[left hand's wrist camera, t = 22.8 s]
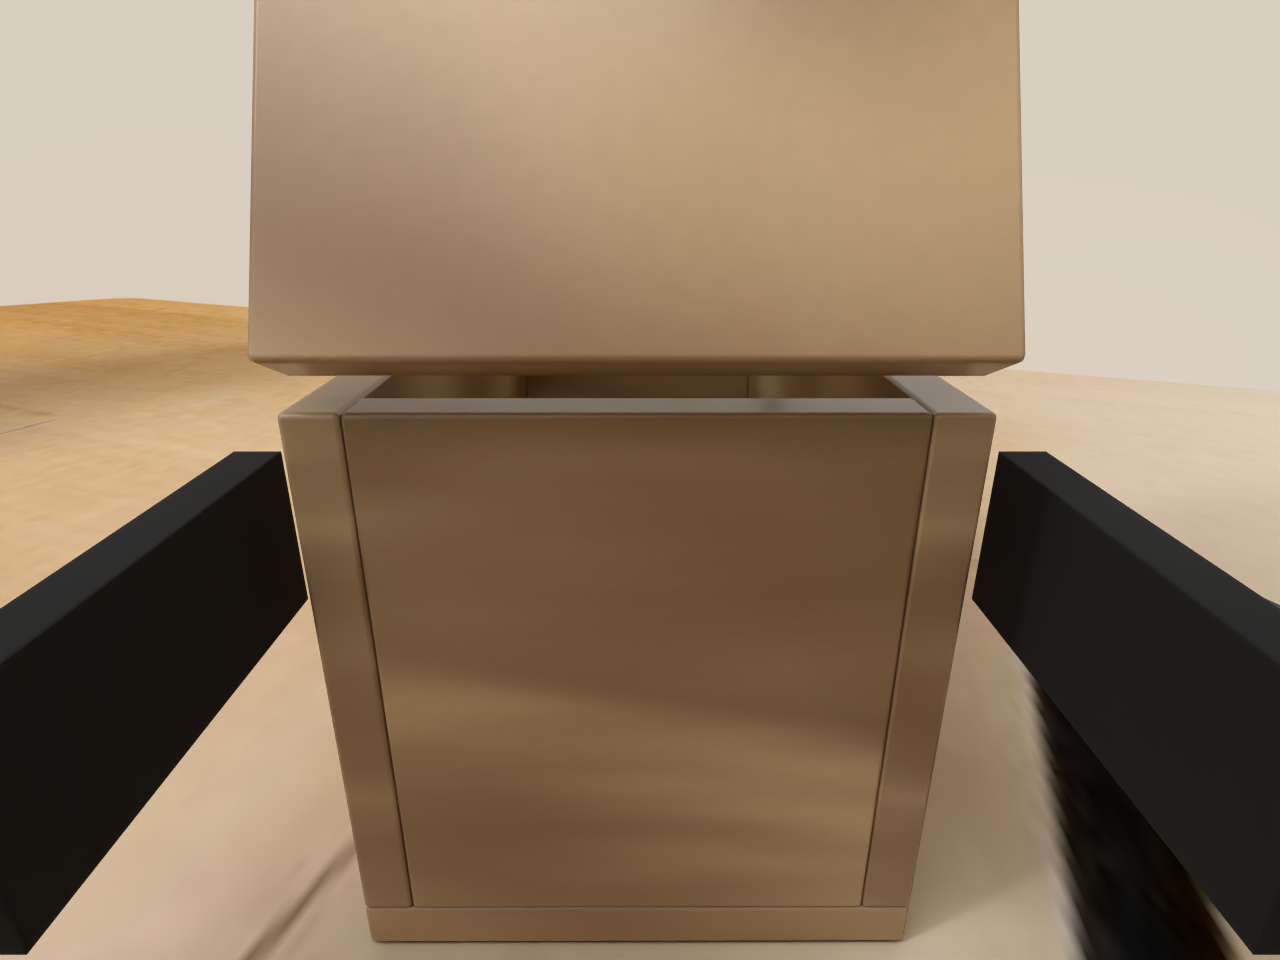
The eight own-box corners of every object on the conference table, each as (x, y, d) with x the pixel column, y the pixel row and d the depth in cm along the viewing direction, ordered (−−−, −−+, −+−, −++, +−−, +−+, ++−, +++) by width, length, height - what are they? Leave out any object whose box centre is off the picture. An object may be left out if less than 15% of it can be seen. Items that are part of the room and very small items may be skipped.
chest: (516, 527, 29) (499, 268, 25) (758, 527, 29) (775, 269, 25) (370, 942, 13) (274, 413, 10) (903, 942, 13) (999, 413, 10)
